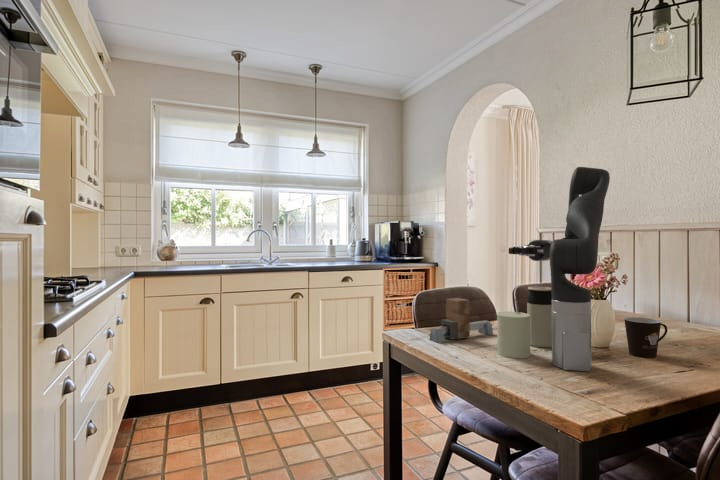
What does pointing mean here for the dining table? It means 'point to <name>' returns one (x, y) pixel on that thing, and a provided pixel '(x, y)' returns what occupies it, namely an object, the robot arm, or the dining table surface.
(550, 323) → the travel mug
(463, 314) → the wooden rectangular block
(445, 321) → the dark grey block
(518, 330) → the can
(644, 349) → the coffee mug
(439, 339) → the grey angular blocks
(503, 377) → the dining table surface
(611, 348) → the dining table surface
